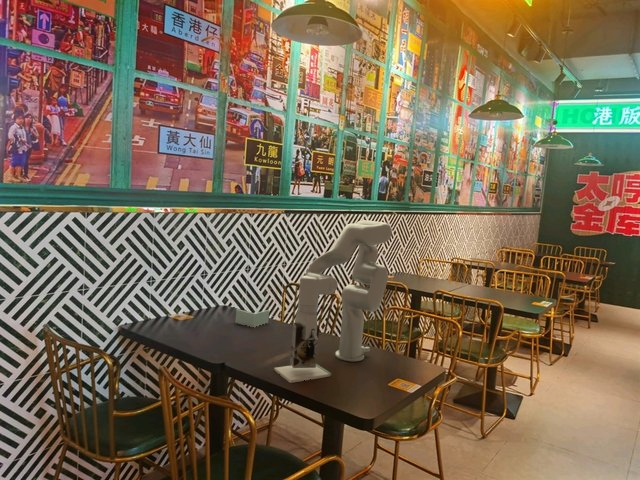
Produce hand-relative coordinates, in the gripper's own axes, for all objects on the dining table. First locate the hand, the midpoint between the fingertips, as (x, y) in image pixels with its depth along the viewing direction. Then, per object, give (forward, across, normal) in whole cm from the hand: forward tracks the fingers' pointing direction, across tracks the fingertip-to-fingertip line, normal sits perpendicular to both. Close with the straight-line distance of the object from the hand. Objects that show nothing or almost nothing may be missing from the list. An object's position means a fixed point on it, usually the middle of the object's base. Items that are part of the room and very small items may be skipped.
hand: (304, 352), depth 182 cm
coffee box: (+5, 0, 0) cm, 5 cm away
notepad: (+8, 0, 0) cm, 8 cm away
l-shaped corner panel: (+9, -69, +10) cm, 71 cm away
